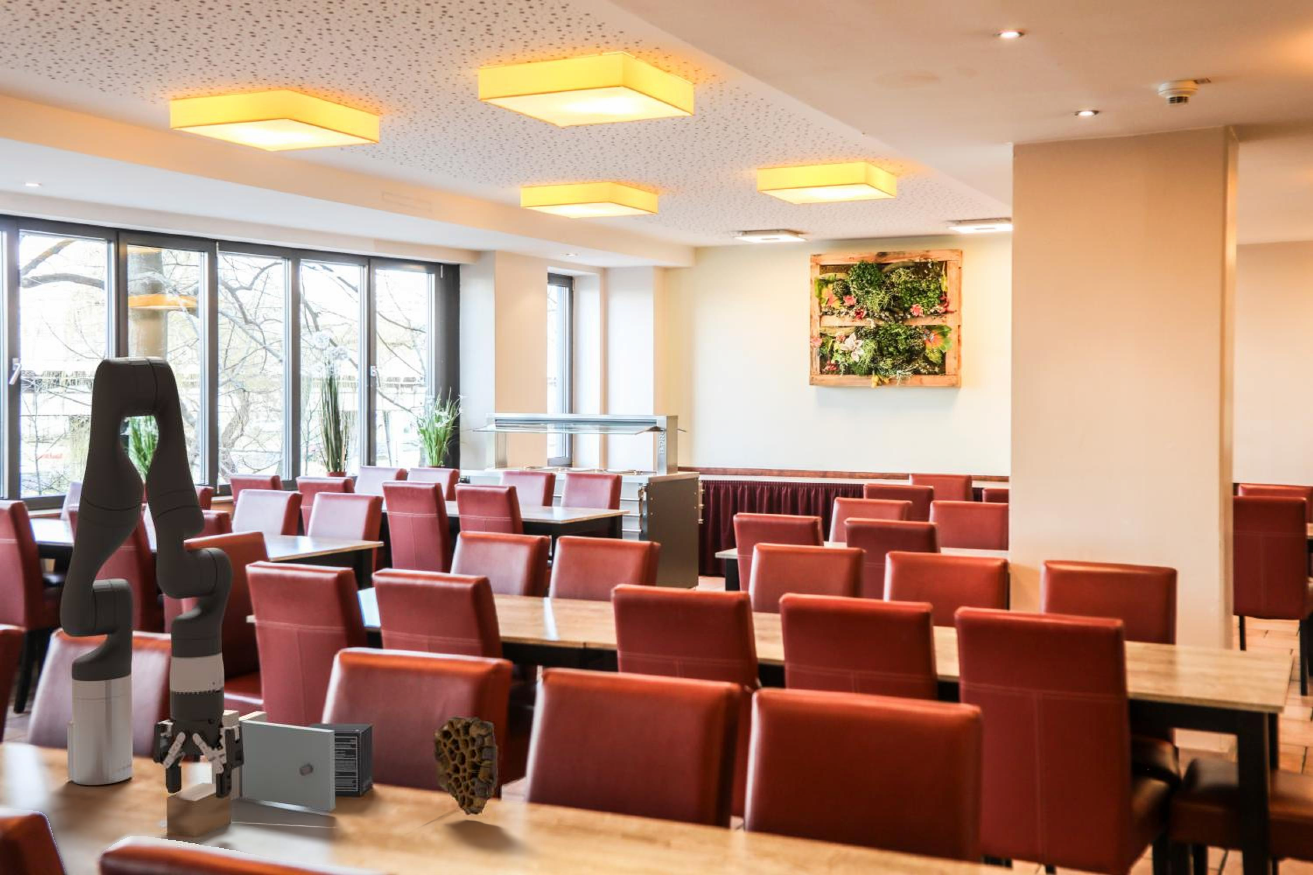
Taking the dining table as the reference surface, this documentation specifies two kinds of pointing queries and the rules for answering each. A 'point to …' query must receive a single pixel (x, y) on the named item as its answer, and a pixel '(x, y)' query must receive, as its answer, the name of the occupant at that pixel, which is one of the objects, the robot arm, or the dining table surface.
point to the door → (288, 764)
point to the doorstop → (197, 811)
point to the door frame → (228, 720)
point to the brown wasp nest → (467, 761)
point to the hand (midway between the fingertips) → (198, 794)
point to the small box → (351, 757)
